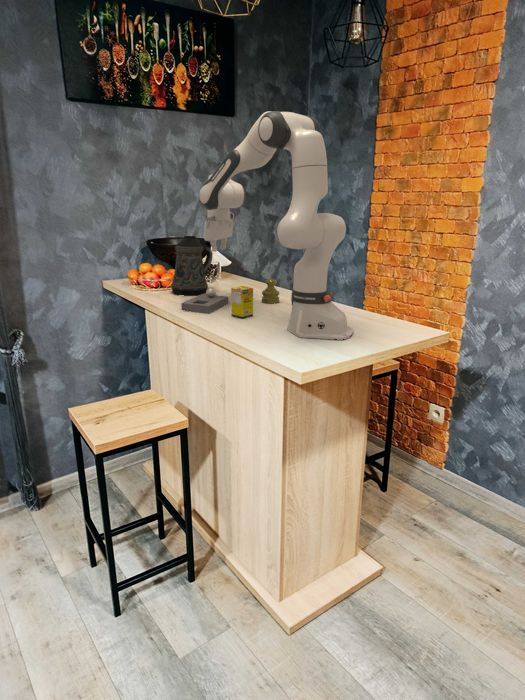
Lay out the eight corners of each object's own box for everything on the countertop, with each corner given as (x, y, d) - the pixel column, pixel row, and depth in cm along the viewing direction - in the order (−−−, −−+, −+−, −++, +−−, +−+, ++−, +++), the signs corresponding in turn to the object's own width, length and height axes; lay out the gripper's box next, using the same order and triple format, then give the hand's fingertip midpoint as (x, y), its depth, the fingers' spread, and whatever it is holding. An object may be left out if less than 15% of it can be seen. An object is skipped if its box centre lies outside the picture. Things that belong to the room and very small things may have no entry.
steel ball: (217, 296, 203) (217, 287, 202) (213, 298, 200) (213, 288, 198) (208, 295, 205) (208, 286, 203) (204, 297, 201) (204, 288, 200)
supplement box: (253, 316, 186) (253, 287, 183) (242, 319, 182) (242, 290, 179) (242, 313, 190) (242, 285, 187) (231, 316, 186) (230, 287, 182)
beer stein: (164, 294, 220) (161, 237, 212) (186, 286, 237) (184, 233, 229) (196, 297, 214) (195, 239, 206) (217, 289, 231) (216, 235, 223)
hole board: (228, 303, 205) (228, 296, 204) (209, 313, 189) (208, 306, 188) (202, 300, 209) (202, 293, 208) (181, 310, 193) (181, 303, 192)
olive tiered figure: (282, 303, 207) (282, 279, 203) (265, 304, 204) (266, 280, 201) (275, 299, 213) (275, 276, 210) (259, 300, 211) (259, 277, 207)
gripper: (214, 217, 188) (214, 253, 193) (235, 214, 207) (235, 247, 211) (199, 216, 191) (200, 252, 195) (222, 213, 209) (222, 246, 213)
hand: (218, 250), depth 203 cm, fingers open, 6 cm apart
